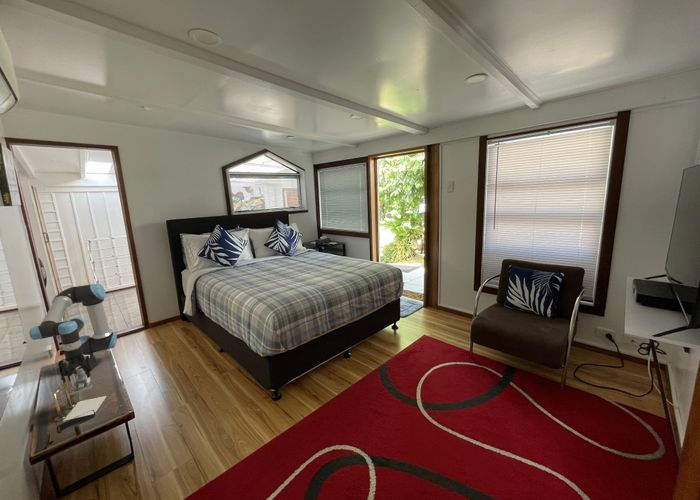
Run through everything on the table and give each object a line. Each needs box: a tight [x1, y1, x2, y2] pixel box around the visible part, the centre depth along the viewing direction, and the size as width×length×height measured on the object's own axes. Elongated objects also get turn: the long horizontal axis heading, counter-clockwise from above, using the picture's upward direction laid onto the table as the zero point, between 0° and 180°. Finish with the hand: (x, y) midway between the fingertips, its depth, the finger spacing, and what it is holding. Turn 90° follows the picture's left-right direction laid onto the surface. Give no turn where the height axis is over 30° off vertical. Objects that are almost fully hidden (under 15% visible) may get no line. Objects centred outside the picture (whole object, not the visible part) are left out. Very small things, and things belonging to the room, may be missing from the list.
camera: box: [69, 366, 94, 396], centre depth 166 cm, size 9×12×15 cm
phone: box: [57, 410, 97, 434], centre depth 159 cm, size 8×1×15 cm
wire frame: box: [52, 381, 77, 422], centre depth 164 cm, size 15×5×16 cm, turn 20°
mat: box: [62, 395, 107, 423], centre depth 168 cm, size 16×14×1 cm
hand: (81, 383), depth 166 cm, fingers closed on camera, 6 cm apart
